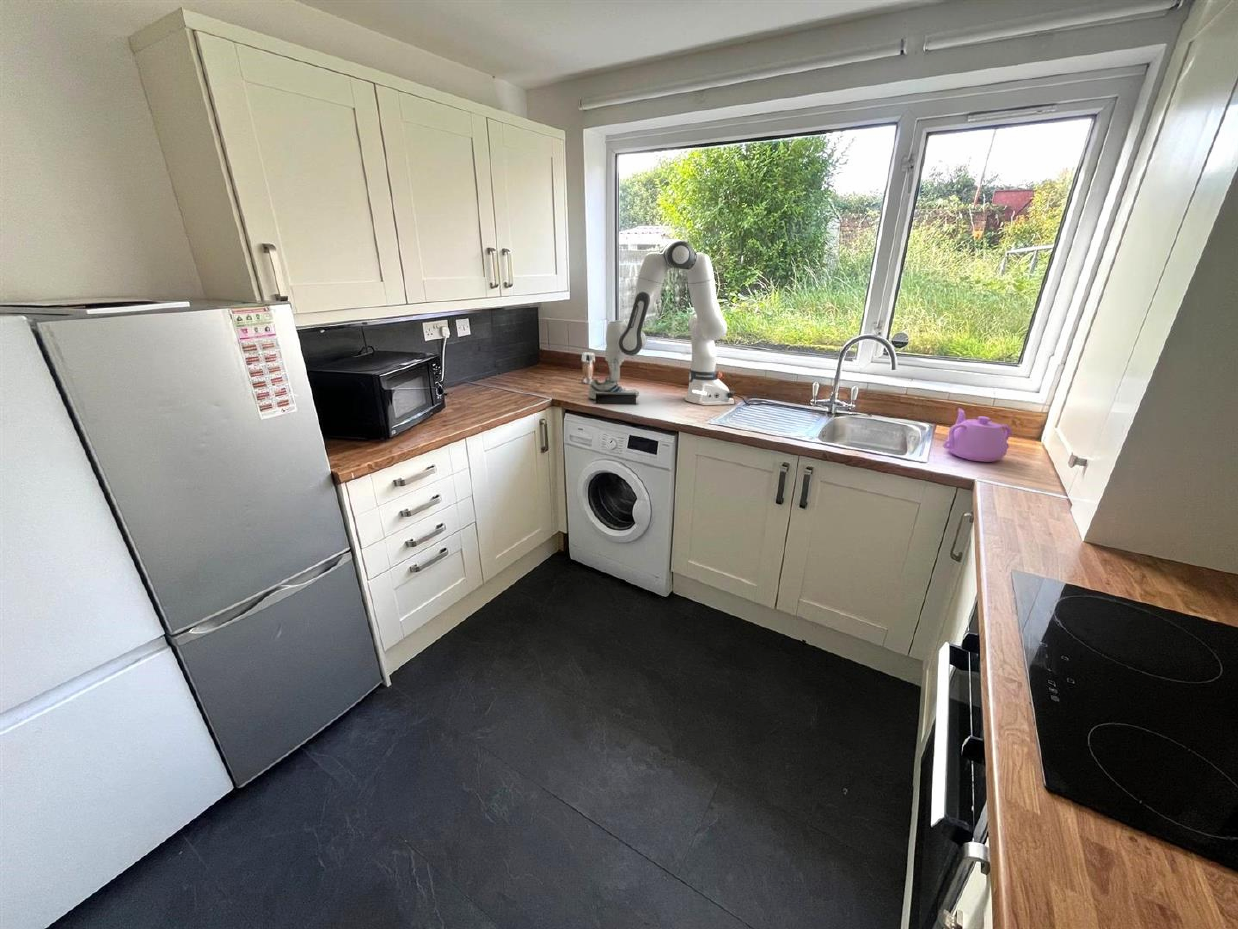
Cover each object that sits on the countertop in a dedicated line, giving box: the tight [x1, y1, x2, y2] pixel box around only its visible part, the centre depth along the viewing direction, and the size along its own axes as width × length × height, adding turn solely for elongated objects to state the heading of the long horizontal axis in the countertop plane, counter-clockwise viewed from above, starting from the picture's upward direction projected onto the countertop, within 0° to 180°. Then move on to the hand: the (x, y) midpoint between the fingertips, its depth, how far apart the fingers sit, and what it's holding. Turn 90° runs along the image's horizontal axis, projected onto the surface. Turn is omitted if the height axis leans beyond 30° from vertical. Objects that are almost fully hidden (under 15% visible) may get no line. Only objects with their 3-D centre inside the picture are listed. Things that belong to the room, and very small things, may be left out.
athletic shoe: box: [587, 375, 640, 401], centre depth 227 cm, size 10×23×12 cm, turn 89°
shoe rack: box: [595, 392, 637, 405], centre depth 221 cm, size 18×2×5 cm, turn 94°
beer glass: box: [581, 352, 596, 385], centre depth 258 cm, size 7×7×15 cm
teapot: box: [942, 407, 1012, 463], centre depth 170 cm, size 22×22×14 cm
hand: (613, 386), depth 232 cm, fingers closed
